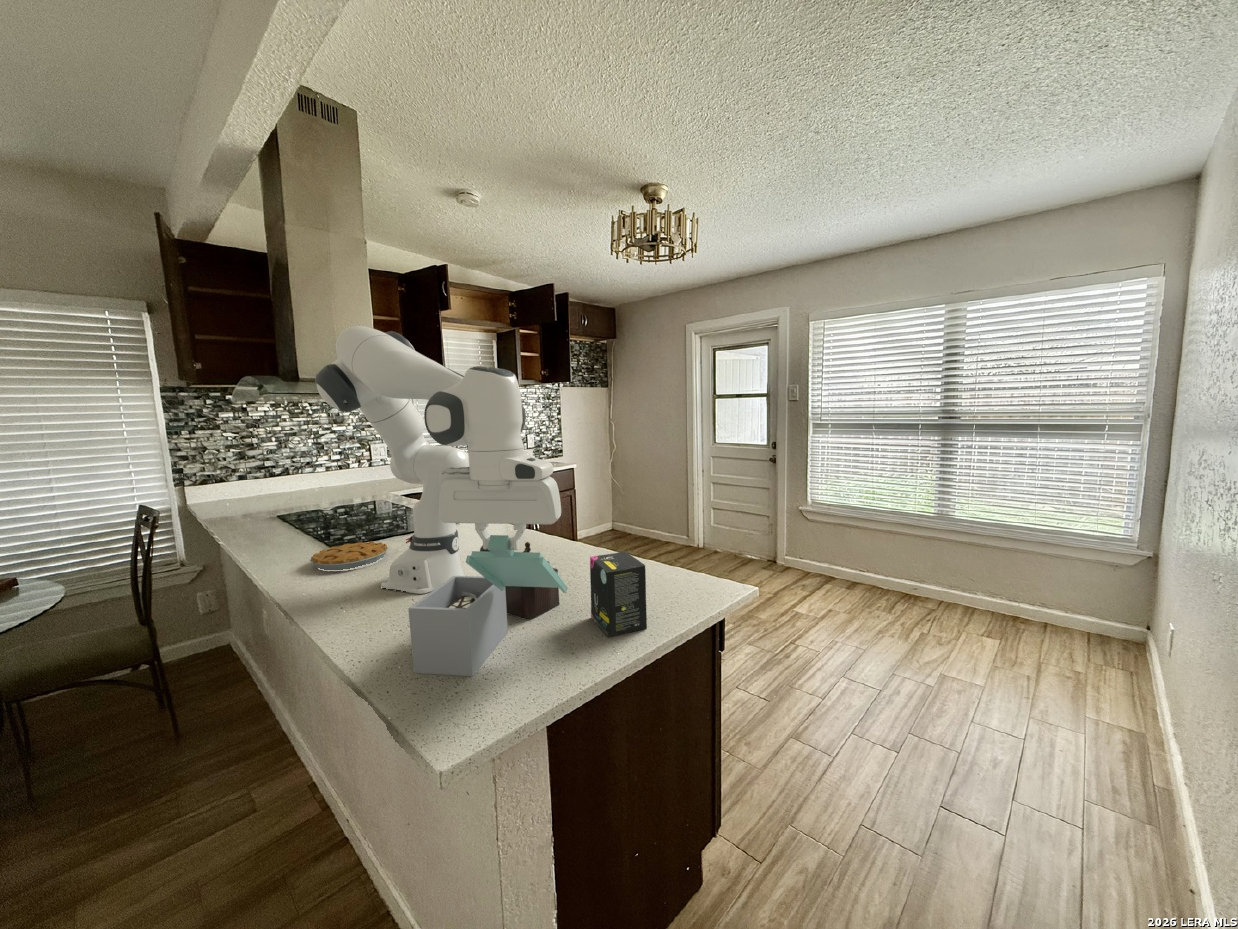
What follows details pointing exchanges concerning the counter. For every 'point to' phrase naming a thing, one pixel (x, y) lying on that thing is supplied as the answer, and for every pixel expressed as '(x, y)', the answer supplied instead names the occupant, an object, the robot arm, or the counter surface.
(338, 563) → the pie
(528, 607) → the manual coffee grinder
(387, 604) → the counter surface
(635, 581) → the tampon box
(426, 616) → the tub
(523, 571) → the lid
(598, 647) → the counter surface
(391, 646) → the counter surface
